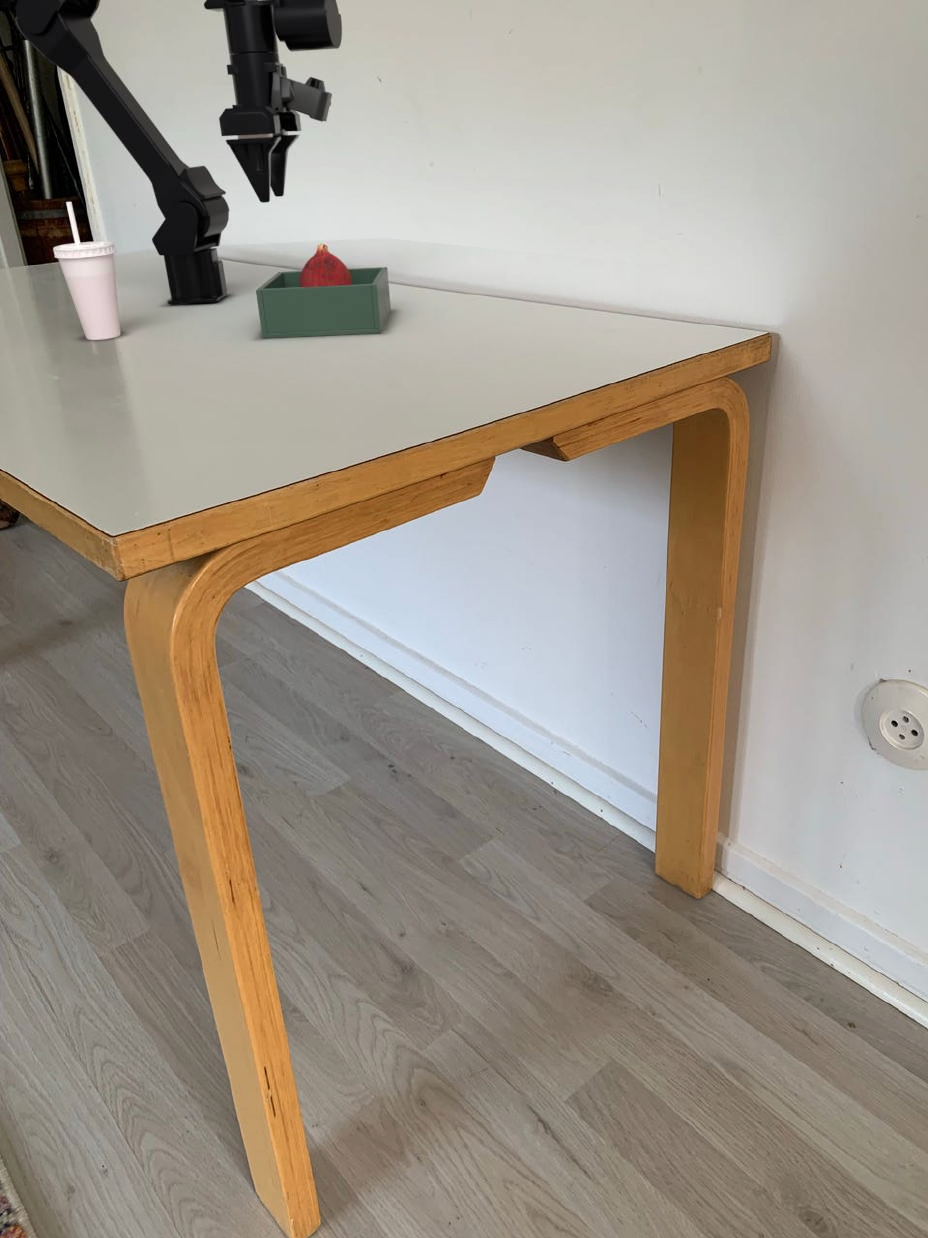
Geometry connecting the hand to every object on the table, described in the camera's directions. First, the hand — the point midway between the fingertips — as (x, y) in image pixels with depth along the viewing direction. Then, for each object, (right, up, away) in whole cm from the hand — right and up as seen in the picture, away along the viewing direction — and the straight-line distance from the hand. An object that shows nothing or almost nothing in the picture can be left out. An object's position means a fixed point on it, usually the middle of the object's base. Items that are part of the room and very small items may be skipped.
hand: (272, 199), depth 119 cm
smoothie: (-17, -21, -11) cm, 29 cm away
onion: (+9, -19, -11) cm, 23 cm away
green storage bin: (+9, -19, -11) cm, 24 cm away
